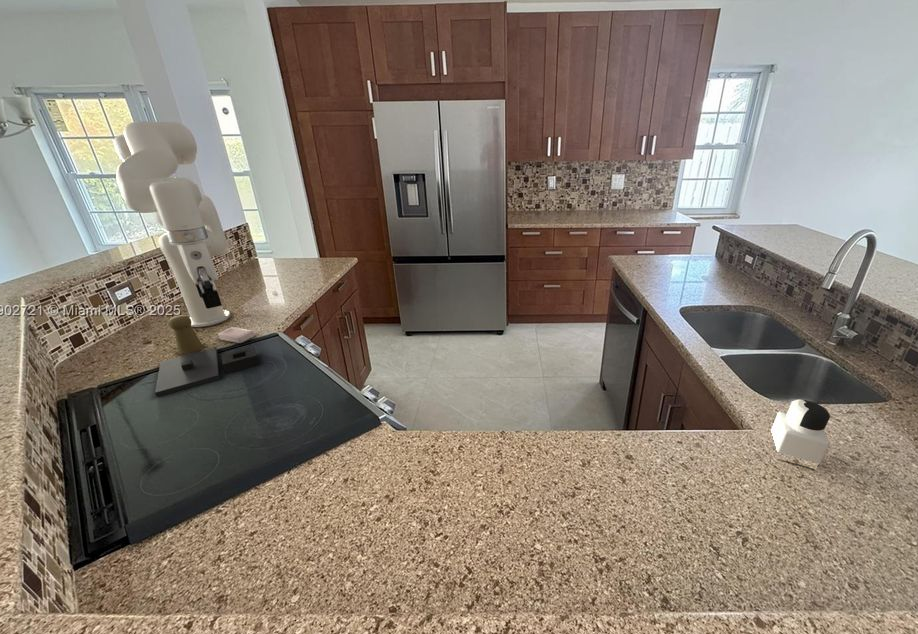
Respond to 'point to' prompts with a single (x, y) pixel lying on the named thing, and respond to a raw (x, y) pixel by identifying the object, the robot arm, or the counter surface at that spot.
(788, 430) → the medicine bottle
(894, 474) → the counter surface
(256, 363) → the top pad
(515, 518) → the counter surface
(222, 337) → the soap bar
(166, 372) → the base pad
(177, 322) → the cork
